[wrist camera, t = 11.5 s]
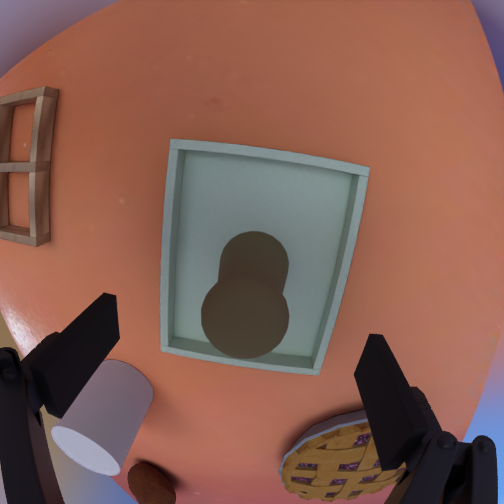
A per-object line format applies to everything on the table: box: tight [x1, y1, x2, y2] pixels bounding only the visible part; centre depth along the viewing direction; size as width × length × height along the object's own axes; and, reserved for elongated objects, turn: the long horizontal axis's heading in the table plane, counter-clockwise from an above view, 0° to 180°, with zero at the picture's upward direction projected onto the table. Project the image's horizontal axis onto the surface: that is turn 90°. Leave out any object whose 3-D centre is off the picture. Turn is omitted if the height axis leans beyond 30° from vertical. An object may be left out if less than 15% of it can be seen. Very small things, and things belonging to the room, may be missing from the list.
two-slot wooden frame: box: [0, 86, 59, 247], centre depth 24 cm, size 17×9×2 cm, turn 172°
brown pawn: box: [201, 231, 289, 359], centre depth 21 cm, size 6×6×11 cm
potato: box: [128, 463, 176, 504], centre depth 36 cm, size 8×12×8 cm, turn 20°
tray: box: [160, 139, 370, 375], centre depth 26 cm, size 20×16×3 cm
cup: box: [51, 360, 154, 476], centre depth 27 cm, size 8×8×12 cm
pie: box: [278, 410, 406, 502], centre depth 32 cm, size 22×22×5 cm
